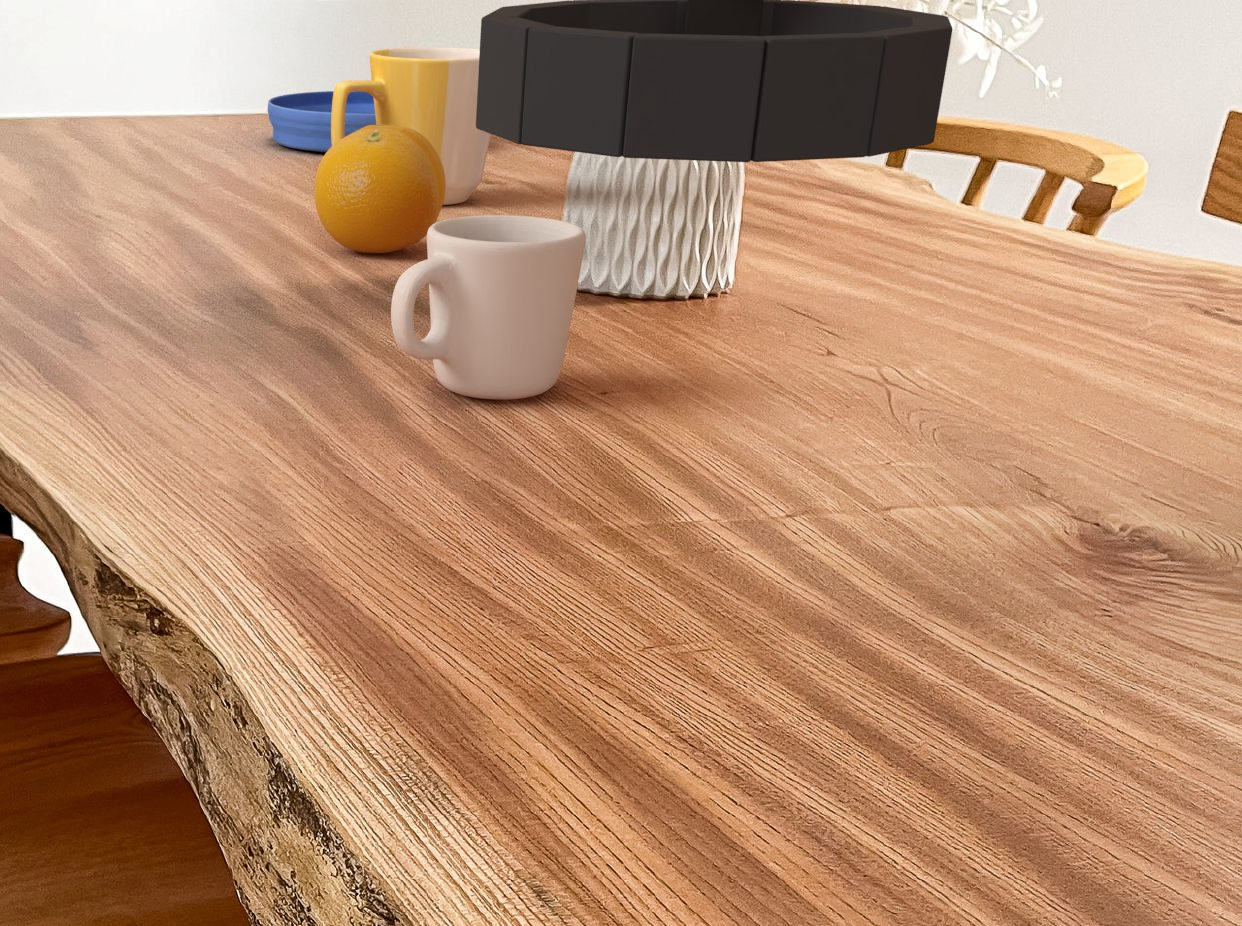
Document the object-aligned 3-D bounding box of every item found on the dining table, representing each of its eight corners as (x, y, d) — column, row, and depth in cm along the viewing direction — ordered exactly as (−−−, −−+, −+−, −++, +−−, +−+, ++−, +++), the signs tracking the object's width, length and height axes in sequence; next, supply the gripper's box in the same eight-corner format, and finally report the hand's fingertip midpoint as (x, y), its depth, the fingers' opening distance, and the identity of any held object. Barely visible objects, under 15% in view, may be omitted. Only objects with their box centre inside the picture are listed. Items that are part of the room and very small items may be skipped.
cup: (440, 426, 96) (449, 255, 92) (346, 391, 102) (350, 229, 97) (604, 395, 101) (619, 232, 97) (505, 364, 107) (516, 209, 102)
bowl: (471, 158, 170) (474, 114, 168) (265, 157, 170) (265, 113, 168) (457, 130, 185) (460, 89, 183) (268, 128, 186) (269, 88, 184)
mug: (472, 186, 157) (480, 43, 152) (515, 208, 149) (525, 57, 143) (308, 192, 155) (311, 47, 149) (342, 215, 146) (346, 61, 141)
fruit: (308, 261, 131) (311, 132, 127) (318, 239, 138) (321, 116, 134) (440, 265, 130) (447, 135, 126) (443, 242, 137) (450, 118, 133)
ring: (925, 107, 73) (942, 2, 71) (939, 169, 60) (960, 44, 58) (515, 94, 76) (522, -6, 74) (446, 151, 63) (451, 32, 62)
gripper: (704, -692, 68) (635, 54, 80) (672, -797, 56) (597, 95, 68) (928, -705, 66) (823, 59, 78) (943, -817, 54) (817, 102, 67)
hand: (718, 75), depth 73 cm, fingers closed on ring
